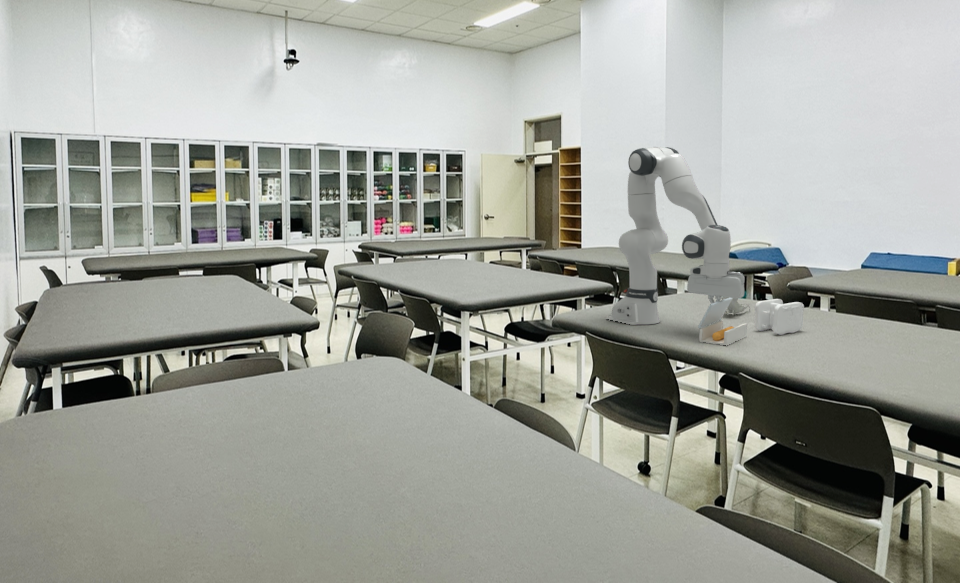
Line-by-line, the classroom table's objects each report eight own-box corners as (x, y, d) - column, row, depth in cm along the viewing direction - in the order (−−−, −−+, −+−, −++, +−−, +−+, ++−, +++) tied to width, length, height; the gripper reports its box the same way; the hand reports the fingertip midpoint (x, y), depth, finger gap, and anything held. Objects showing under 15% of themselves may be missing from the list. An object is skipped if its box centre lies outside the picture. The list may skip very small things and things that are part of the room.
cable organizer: (779, 326, 251) (780, 297, 249) (803, 331, 242) (805, 301, 240) (753, 331, 244) (754, 301, 242) (777, 336, 235) (779, 305, 233)
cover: (699, 328, 229) (697, 327, 229) (720, 320, 242) (718, 319, 242) (712, 305, 224) (710, 303, 225) (732, 298, 237) (730, 297, 238)
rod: (712, 342, 227) (709, 334, 228) (730, 334, 239) (727, 327, 239) (720, 339, 225) (716, 332, 226) (738, 331, 237) (734, 324, 237)
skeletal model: (750, 310, 286) (752, 278, 266) (749, 328, 281) (751, 296, 262) (712, 308, 292) (712, 276, 272) (710, 325, 287) (710, 294, 268)
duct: (699, 342, 230) (699, 328, 229) (720, 333, 243) (720, 320, 242) (726, 346, 223) (727, 332, 222) (746, 336, 236) (747, 323, 235)
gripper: (748, 271, 226) (746, 309, 229) (693, 266, 240) (692, 302, 242) (741, 273, 222) (739, 312, 224) (686, 268, 236) (684, 305, 238)
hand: (714, 307), depth 233 cm, fingers closed
